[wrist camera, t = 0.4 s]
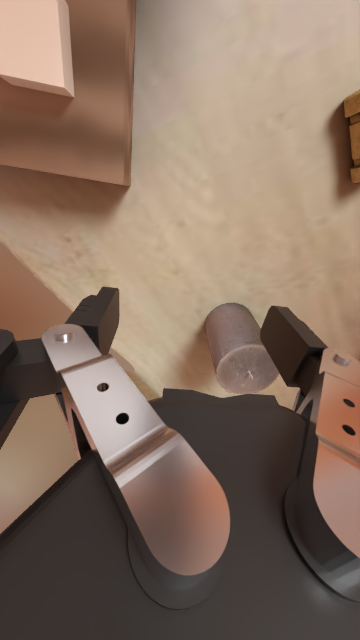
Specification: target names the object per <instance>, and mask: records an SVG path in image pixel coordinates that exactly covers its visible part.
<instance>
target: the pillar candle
mask: <svg viewBox="0 0 360 640" xmlns="http://www.w3.org/2000/svg"><path fill="white" fill-rule="evenodd" d="M205 330H206V334H207V339H208V343H209V347H210V351H211V356H212V360H213V364H214V368H215V372H216V377H217V380H218V383H219V384H220V385H221V386H222V387H223V388H224V389H226V390H225V391H227V392H230V393H232V392H233V393H237V394H250V393H256V392H259V391H261V390H263V389H265V388H266V387H268V386H269V385H270V384H272V383H273V382H274V381H275V380H276V378H277V377H278V375H279V371H278V370H277V368H276V366H275V364H274V363H273V361H272V359H271V357H270V356H269V354H268V352H267V350H266V349H265V347H264V345H263V344H262V342H261V339H260V331H261V328H260V327H259V325H258V324H257V322H256V320H255V319H254V317H253V316H252V314H251V312H250V311H249V310H248V309H247V308H246V307H245V306H243V305H240V304H237V303H226V304H223V305H220V306H218V307H216V308H215V309H214V310H212V311H211V313H210V314H209V315H208V317H207V319H206V322H205Z"/></svg>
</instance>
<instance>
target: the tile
mask: <svg viewBox="0 0 360 640" xmlns="http://www.w3.org/2000/svg"><path fill="white" fill-rule="evenodd" d="M0 77H1V78H3V79H4V80H6V81H7V82H9V83H10V84H11V85H16V86H21V87H25V88H30V89H35V90H40V91H45V92H50V93H55V94H59V95H64V96H69V97H74V83H73V68H72V53H71V38H70V23H69V8H68V5H67V3H66V1H65V0H0Z"/></svg>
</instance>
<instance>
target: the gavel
mask: <svg viewBox="0 0 360 640" xmlns="http://www.w3.org/2000/svg"><path fill="white" fill-rule="evenodd" d="M344 110H345V118H347V117H349V116H350V122H351V124H350V125H349V129H350V139H351V150H352V159H353V160H354V165H353V166H352V167H351V168H350V170H351V181H352V182H353V183H360V90H358V91H356V92H355V93H353V94H351V95H350V96H348V97H347V98H346V99H345V100H344Z"/></svg>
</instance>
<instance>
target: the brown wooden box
mask: <svg viewBox="0 0 360 640" xmlns="http://www.w3.org/2000/svg"><path fill="white" fill-rule="evenodd" d="M65 1H66V3H67V5H68V8H69V23H70V38H71V53H72V68H73V83H74V97H69V96H64V95H59V94H55V93H50V92H45V91H40V90H35V89H30V88H25V87H21V86H16V85H11V84H10V83H9V82H7V81H6V80H4V79H3V78H1V77H0V165H6V166H12V167H18V168H24V169H30V170H36V171H42V172H48V173H54V174H60V175H66V176H72V177H78V178H84V179H90V180H95V181H101V182H107V183H113V184H119V185H126V186H130V184H131V151H132V117H133V84H134V51H135V17H136V0H65Z"/></svg>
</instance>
